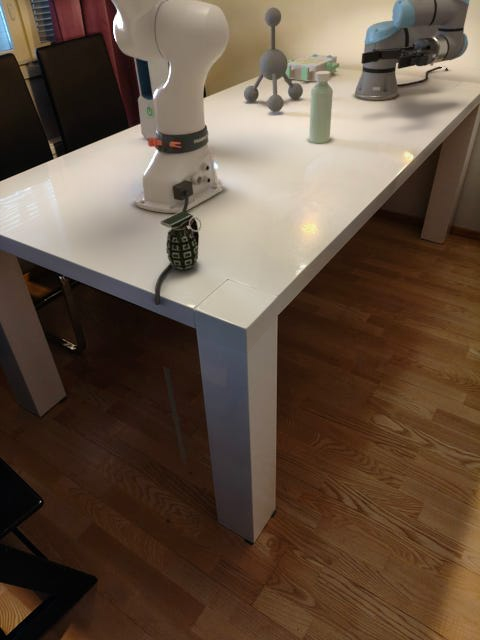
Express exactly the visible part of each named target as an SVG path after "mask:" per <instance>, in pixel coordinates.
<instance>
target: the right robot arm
mask: <svg viewBox="0 0 480 640" xmlns="http://www.w3.org/2000/svg"><path fill="white" fill-rule="evenodd" d="M469 6H470V0H396V1H395V3H394V4H393V8H392V16H391V19H392V20H385V21H380V22H376V23H373V24H372V25H370V26H369V27H368V28H367V29H366V32H365V39H364V48H363V52H362V53H361V62H360V63H361V64H362V69H361V70H362V72H361V75H360V76H359V80H358V82H357V85H356V87H355V90H354V91H355V92H354V96H355V97H356V98H357V99H361V100H365V101H386V100H387V101H388V100H393V99H395V98H397V97H398V92H399V91H398V90H399V88H403V87H408V86H414V85H418V84H421V83H425V82H427V81H428V79H429V73H432V72H434V71H437V70H442V69H441V68H442V67H440V66H436V67H434V68H431V69H428V70H427V71H426V72H425V76H424V77H425V78H423V79H420V80H416V81H412V82H407V83H400V84H399V83H398V82H397V75H396V69H398V70H399V69H405V68H408V67H414V66H416V67H425V66H429V65H430V66H434V64H436V63H441V62H446V61H452V60H456V59H458V58H461V56H463V55H464V54H465V53H466V51H467V49H468V45H469V40H468V36H467V34H466V33H465V23H466V20H467V15H468V10H469ZM444 70H445V72H449V68H448V67H446V69H444Z"/></svg>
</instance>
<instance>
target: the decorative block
mask: <svg viewBox="0 0 480 640" xmlns="http://www.w3.org/2000/svg"><path fill="white" fill-rule="evenodd" d="M337 58H338V57H337V56H336V55H335V56H334V55H330V54H327V55H321V54H317V53H313V54H312V55H310V56H303V57H300V58H298V59H295V60H294V59H289V60H288V62H287V70H286V72H285V73H286V75H287V76H288V77H289V79H290V80H294V81H295V80H297V81H305V82H306V81H307V82H316V81H315V73H316V72H318V71H329V72H330V76H331V75H333V74H334V73H335V72H336V71H337V69H338V68H340V62H337Z"/></svg>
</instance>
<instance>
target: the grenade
mask: <svg viewBox="0 0 480 640" xmlns="http://www.w3.org/2000/svg"><path fill="white" fill-rule="evenodd" d="M198 222H199V226H198ZM159 224H160V225H162V226H164V227H166V228H169V230H168V231H167V236H166V254H167V259H168V261H169V263H171V264H172V266H173V267H174V268H176V269H178V270H181V271H186V270H189V269H192V267H194V266H195V265H196V264H197V262H198V261H197V260H198V259H199V243H200V241H199V240H200V233H199V232H200V231H201V228H202V221H201V220H200V219H199V218H198V217H197V216H194V215H193V214H192V213H189V212H187V211H186V212H184V211H181V212H179V213H174V214H172V215H170V216H169V217H166V218H165V219H162V220H160V222H159ZM198 227H199V228H198Z"/></svg>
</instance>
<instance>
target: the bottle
mask: <svg viewBox="0 0 480 640" xmlns="http://www.w3.org/2000/svg"><path fill="white" fill-rule="evenodd" d="M312 87H313V88H311V90H310V111H309V136H308V138H309V139H308V140H309V142H310V143H313V144H325V143H329V142H330V141H331V140H330V139H331V124H332V110H333V109H332V108H333V93H334V91H333V88H332V86H331V85H330V84H329V83H328V81H325V82H318V81H316V83H315V85H314V86H312Z"/></svg>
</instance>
